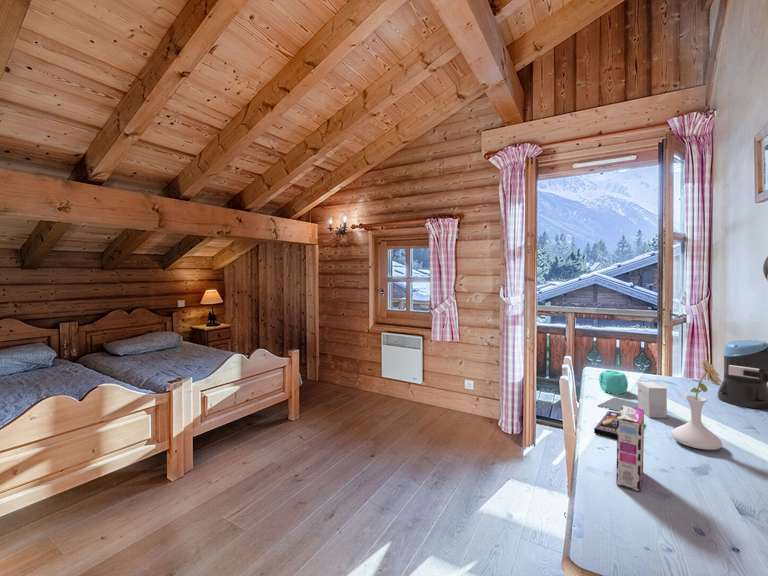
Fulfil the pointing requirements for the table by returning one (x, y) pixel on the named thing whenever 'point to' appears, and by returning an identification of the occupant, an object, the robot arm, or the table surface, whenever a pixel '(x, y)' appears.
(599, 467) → the table surface
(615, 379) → the decorative dice
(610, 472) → the table surface
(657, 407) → the small box
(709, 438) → the flower in vase
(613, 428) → the vhs tape
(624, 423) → the candy bar box
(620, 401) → the grey mat
